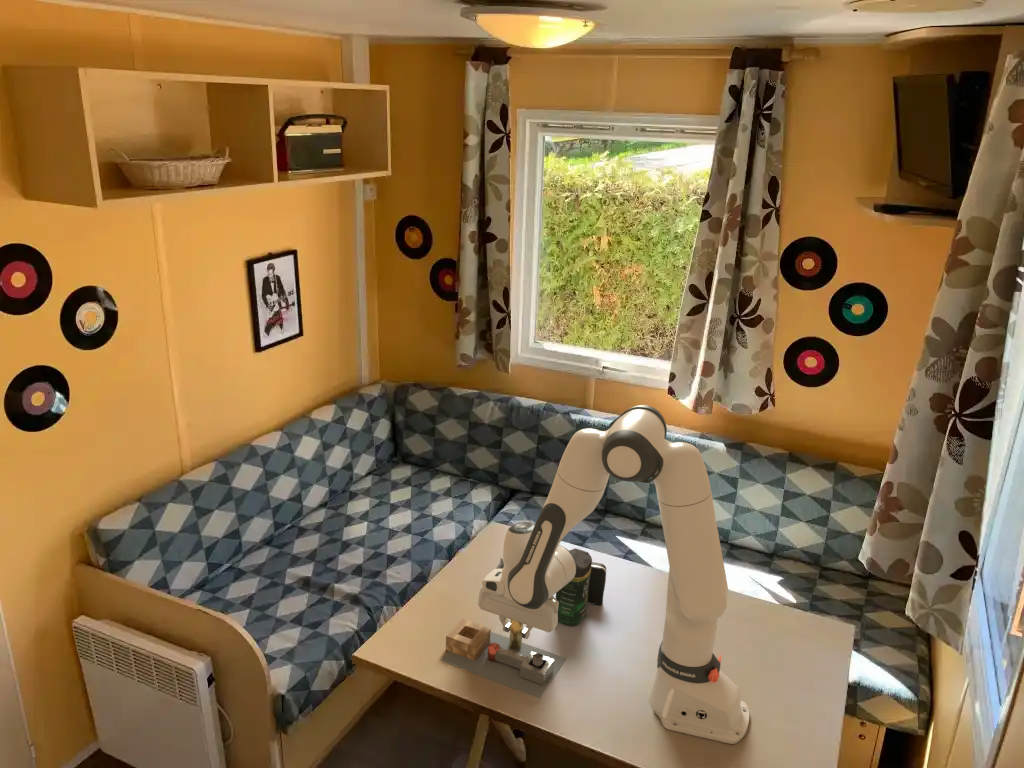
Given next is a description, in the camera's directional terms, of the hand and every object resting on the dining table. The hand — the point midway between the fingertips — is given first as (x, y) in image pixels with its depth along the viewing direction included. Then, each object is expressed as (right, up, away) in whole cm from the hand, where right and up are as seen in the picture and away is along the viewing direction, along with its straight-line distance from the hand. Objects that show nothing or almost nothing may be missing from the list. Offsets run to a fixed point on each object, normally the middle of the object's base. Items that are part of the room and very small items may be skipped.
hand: (516, 633), depth 193 cm
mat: (-3, -5, -4) cm, 7 cm away
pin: (0, -3, +1) cm, 4 cm away
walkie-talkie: (0, +8, +39) cm, 39 cm away
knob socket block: (0, -6, -7) cm, 9 cm away
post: (+5, -7, -8) cm, 12 cm away
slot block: (-12, -3, 0) cm, 12 cm away
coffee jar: (+14, 0, +15) cm, 21 cm away
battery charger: (+21, +2, +23) cm, 31 cm away
